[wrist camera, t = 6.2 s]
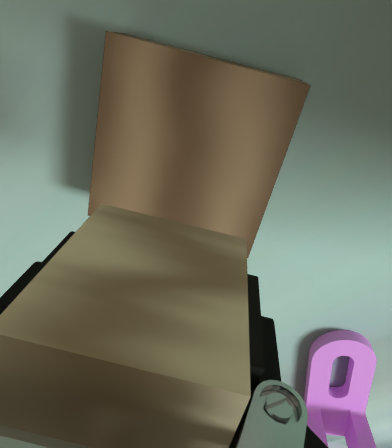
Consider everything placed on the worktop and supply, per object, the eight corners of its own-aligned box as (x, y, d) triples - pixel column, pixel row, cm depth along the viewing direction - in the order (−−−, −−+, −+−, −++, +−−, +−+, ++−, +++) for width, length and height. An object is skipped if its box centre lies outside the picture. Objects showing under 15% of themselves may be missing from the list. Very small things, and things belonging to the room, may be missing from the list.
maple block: (246, 238, 12) (250, 396, 6) (211, 344, 14) (194, 525, 9) (101, 203, 12) (-15, 330, 6) (91, 314, 14) (-1, 476, 9)
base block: (300, 79, 23) (310, 85, 20) (247, 232, 29) (248, 258, 25) (126, 33, 23) (105, 31, 20) (106, 194, 29) (87, 215, 25)
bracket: (355, 424, 37) (377, 499, 31) (300, 420, 38) (312, 492, 32) (376, 330, 31) (408, 399, 25) (311, 327, 32) (327, 393, 26)
